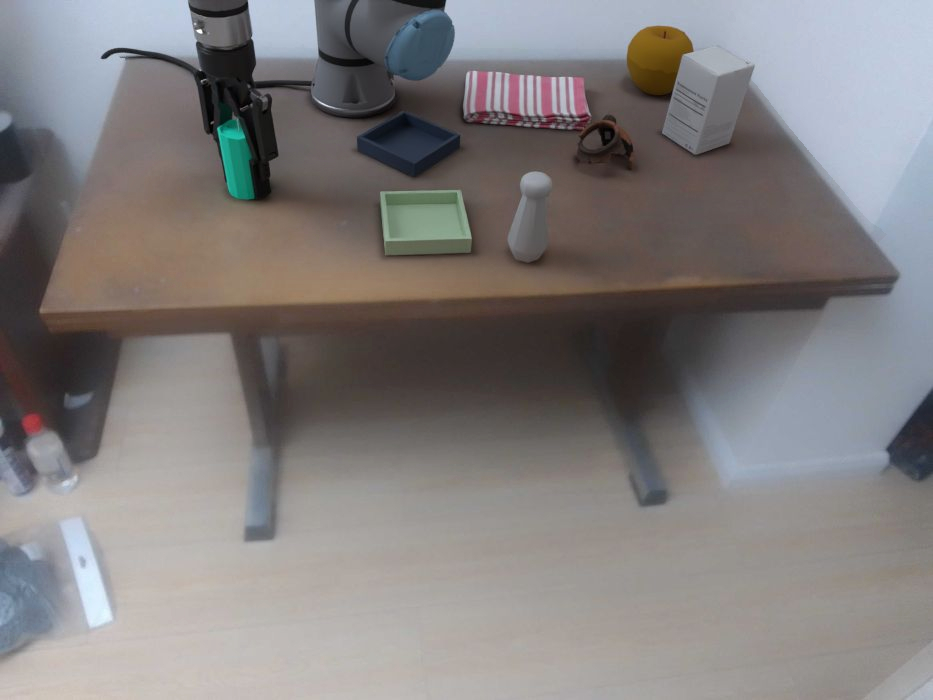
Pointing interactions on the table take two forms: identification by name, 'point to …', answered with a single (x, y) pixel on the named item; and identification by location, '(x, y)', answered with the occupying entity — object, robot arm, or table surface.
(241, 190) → the candle
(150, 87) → the table surface
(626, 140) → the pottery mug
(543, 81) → the dish towel
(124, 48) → the robot arm
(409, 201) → the pale tray
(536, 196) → the salt shaker
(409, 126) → the dark tray
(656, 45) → the apple
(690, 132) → the rectangular carton
